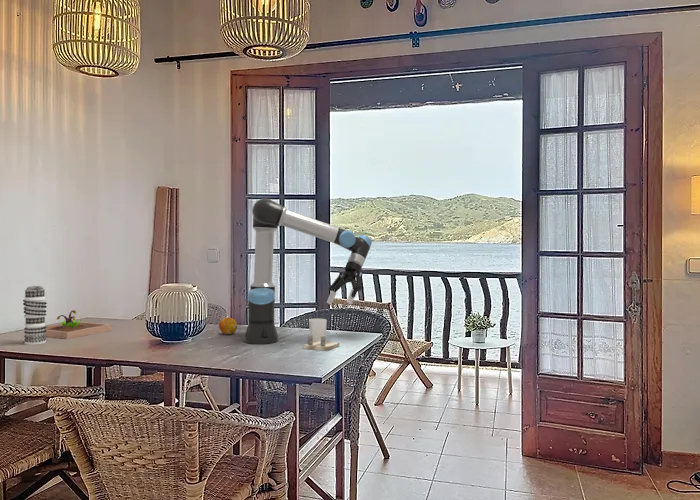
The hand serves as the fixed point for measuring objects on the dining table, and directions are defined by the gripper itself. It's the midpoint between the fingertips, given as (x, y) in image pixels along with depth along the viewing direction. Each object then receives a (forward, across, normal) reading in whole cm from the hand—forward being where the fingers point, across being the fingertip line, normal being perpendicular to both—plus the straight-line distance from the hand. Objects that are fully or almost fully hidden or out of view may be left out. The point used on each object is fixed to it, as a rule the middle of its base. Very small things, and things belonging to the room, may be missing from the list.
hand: (338, 303), depth 258 cm
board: (+25, -7, +5) cm, 26 cm away
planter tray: (+52, +103, +66) cm, 133 cm away
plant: (+53, +104, +66) cm, 134 cm away
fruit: (+26, +48, +18) cm, 58 cm away
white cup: (+20, +3, 0) cm, 20 cm away
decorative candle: (+65, +87, +82) cm, 136 cm away
